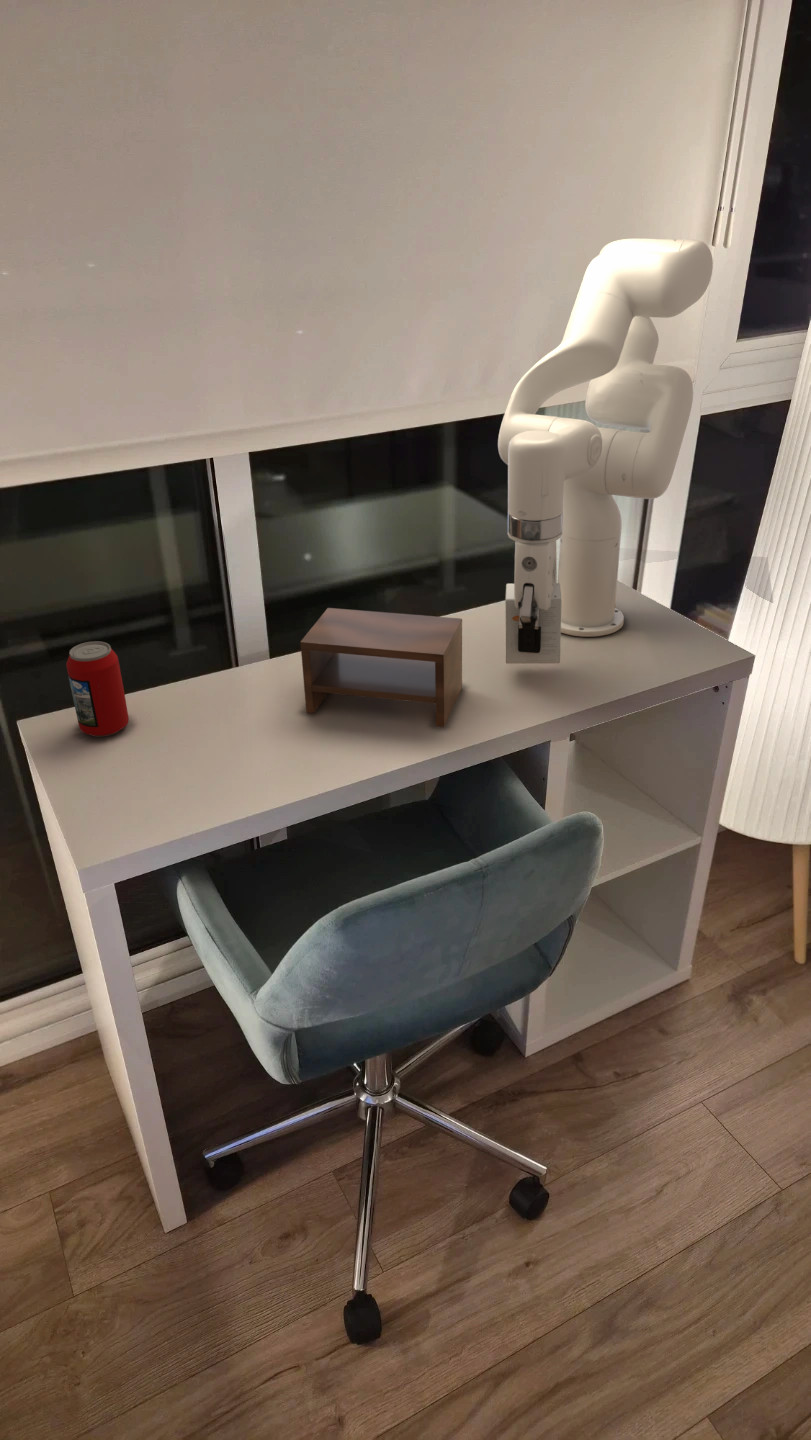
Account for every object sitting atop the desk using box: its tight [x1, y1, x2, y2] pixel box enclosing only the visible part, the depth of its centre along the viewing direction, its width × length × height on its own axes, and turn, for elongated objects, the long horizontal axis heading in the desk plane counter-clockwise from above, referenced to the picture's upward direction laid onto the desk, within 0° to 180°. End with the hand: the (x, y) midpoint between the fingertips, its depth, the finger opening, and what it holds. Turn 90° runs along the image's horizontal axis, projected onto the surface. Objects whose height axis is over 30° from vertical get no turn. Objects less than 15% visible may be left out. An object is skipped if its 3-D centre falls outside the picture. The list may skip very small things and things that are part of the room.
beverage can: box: [65, 640, 130, 738], centre depth 141 cm, size 7×7×12 cm
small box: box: [504, 582, 562, 665], centre depth 151 cm, size 8×6×10 cm
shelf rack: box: [300, 607, 463, 728], centre depth 146 cm, size 12×20×11 cm, turn 76°
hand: (532, 639), depth 152 cm, fingers closed on small box, 6 cm apart
